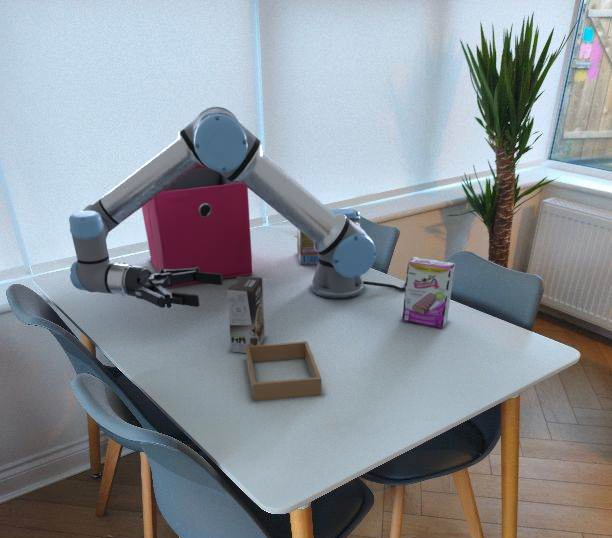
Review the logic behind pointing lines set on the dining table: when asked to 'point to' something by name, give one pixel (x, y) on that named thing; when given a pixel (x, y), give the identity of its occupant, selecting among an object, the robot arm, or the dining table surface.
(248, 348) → the wooden box
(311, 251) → the milk carton
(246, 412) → the dining table surface
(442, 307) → the candy bar box
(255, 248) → the dining table surface
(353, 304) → the dining table surface
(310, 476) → the dining table surface
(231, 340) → the coffee box
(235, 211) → the storage bin
